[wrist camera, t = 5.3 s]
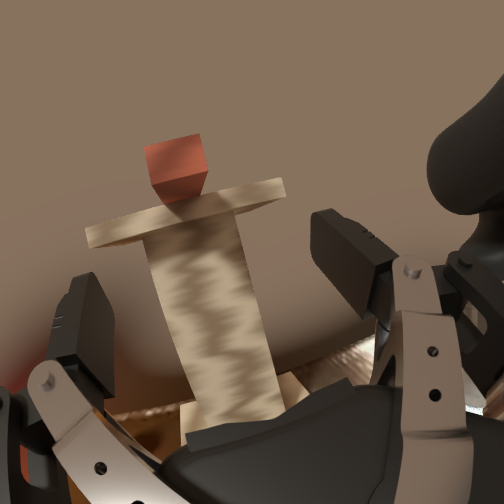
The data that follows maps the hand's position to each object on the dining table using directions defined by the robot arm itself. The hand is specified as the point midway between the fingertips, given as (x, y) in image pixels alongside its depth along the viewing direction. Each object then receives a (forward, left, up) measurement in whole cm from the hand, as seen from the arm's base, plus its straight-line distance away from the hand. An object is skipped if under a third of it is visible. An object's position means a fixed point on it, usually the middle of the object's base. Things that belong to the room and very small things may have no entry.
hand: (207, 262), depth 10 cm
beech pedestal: (0, -25, -27) cm, 37 cm away
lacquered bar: (0, -20, +5) cm, 21 cm away
